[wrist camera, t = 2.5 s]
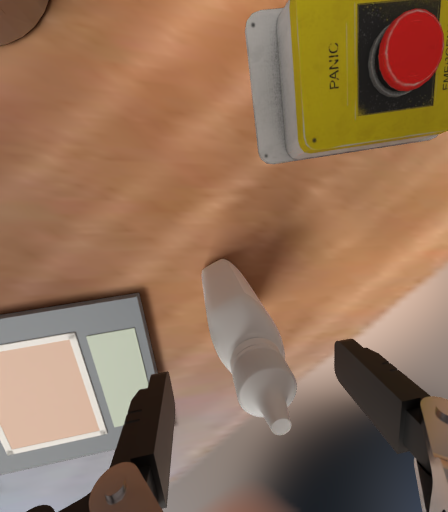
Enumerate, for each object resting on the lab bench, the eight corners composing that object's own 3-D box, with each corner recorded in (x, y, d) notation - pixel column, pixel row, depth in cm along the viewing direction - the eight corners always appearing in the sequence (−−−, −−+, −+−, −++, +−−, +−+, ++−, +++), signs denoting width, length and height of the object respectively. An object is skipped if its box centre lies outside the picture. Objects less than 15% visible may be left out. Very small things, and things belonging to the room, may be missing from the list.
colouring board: (-119, 333, 17) (-136, 341, 16) (139, 292, 18) (136, 297, 17) (-39, 474, 20) (-49, 487, 19) (170, 428, 22) (169, 438, 21)
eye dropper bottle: (255, 256, 19) (354, 349, 7) (251, 319, 20) (330, 479, 9) (201, 257, 18) (217, 359, 7) (201, 321, 20) (215, 497, 8)
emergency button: (502, 123, 15) (277, 158, 14) (434, 140, 19) (257, 167, 18) (530, -68, 12) (259, -49, 11) (444, -1, 17) (241, 19, 15)
